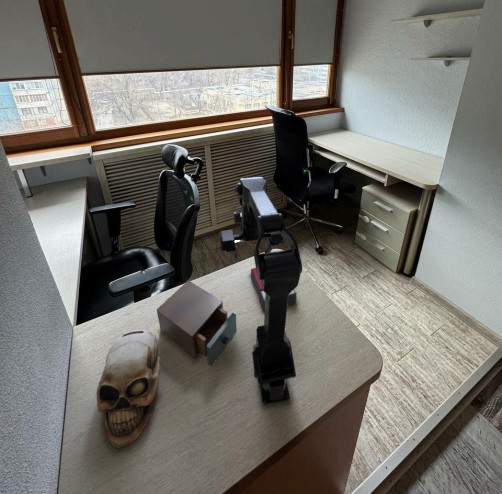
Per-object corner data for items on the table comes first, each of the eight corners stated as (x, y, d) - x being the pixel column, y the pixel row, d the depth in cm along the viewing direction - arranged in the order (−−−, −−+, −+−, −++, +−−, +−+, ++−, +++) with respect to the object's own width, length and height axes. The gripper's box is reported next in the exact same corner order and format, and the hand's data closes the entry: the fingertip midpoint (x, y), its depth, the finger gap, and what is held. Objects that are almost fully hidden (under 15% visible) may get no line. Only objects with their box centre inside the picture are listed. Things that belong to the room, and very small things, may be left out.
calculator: (279, 260, 98) (297, 292, 84) (278, 270, 99) (296, 302, 86) (250, 267, 95) (263, 301, 82) (250, 276, 97) (263, 311, 83)
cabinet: (223, 323, 80) (222, 301, 76) (194, 359, 70) (192, 336, 67) (190, 301, 87) (188, 280, 83) (160, 331, 77) (156, 309, 74)
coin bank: (116, 458, 53) (102, 413, 49) (89, 393, 65) (76, 352, 61) (184, 392, 64) (176, 351, 60) (150, 346, 76) (142, 309, 72)
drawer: (240, 334, 76) (239, 316, 73) (214, 370, 67) (213, 351, 64) (204, 310, 83) (202, 293, 80) (177, 340, 74) (174, 321, 71)
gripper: (275, 198, 86) (273, 236, 92) (216, 204, 82) (218, 243, 89) (286, 219, 76) (282, 260, 82) (220, 228, 72) (222, 270, 79)
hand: (251, 257), depth 83 cm, fingers open, 9 cm apart
